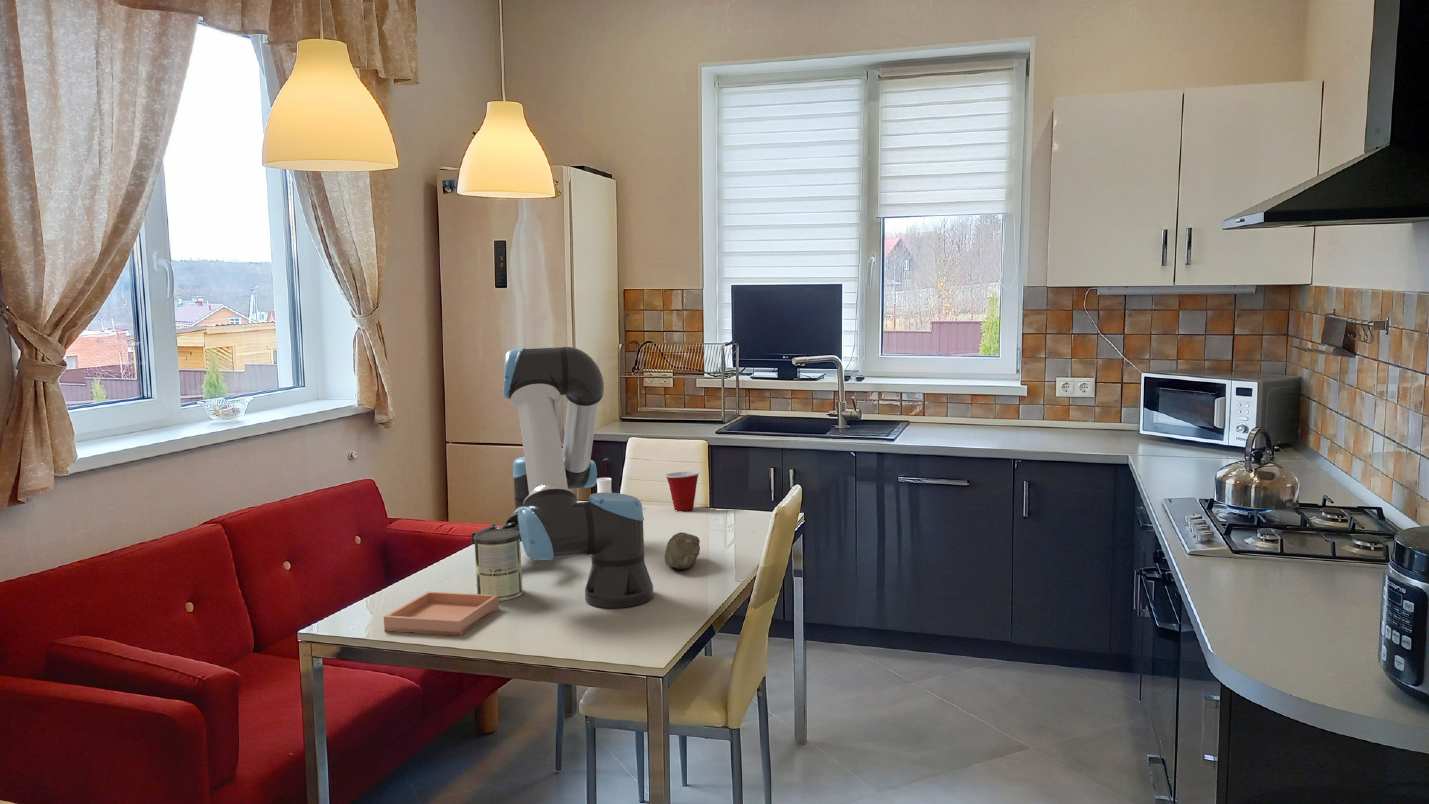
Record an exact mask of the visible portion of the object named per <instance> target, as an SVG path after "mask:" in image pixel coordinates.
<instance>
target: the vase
mask: <svg viewBox="0 0 1429 804" xmlns="http://www.w3.org/2000/svg"><path fill="white" fill-rule="evenodd" d="M596 485H597V486H596V487H597V492H596V493H613V491H612V478H611V477H597V482H596Z"/></svg>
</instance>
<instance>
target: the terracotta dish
mask: <svg viewBox="0 0 1429 804" xmlns="http://www.w3.org/2000/svg"><path fill="white" fill-rule="evenodd" d="M499 609H500V601H499V595H484V594H477V593H465V592H463V593H461V592H443V591H441V592H440V591H426V592H424V593H423V594H421V595H419V596H418V597H416V598H414V599H412V600H410V601H409V602H407V603H406V604H404V605H402V606H400V607H398V608H397V609H395V610H393V611H391V612H389V613H387V614H386V615H384V616H383V628H384V631H385V630H386V631H385V632H391V631H396V632H395V633H407V632H415V633H414V634H421V635H422V634H425V635H437V636H438V635H439V636H452V635H454V636H455V637H461V636H463V635H464V634H465V633H467V632H468V631H470V630H471V629H472V628H474V627H476V625H478V624H480V623H481V622H482V621H484V620H486V619H487V618H488V617H490V616H491V615H492V614H494V613H495V612H497V611H498V610H499ZM454 636H453V637H454Z"/></svg>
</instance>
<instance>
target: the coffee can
mask: <svg viewBox="0 0 1429 804" xmlns="http://www.w3.org/2000/svg"><path fill="white" fill-rule="evenodd" d="M474 541H475V544H474V555H475V570H476V571H475V573H476V574H475V575H476V591H477V593H476V594H484V595H499V602H502V601H503V602H505V601H507V600H513V599H515V598H518V597H520V596H522V595H523V594H524V590H523V589H524V588H523V571H522V557H521V553H522V551H521V542H520V531H518V530H515V529H492V530H486V531H482V532H479V533H477V534H475V535H474Z"/></svg>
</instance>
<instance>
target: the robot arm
mask: <svg viewBox="0 0 1429 804" xmlns="http://www.w3.org/2000/svg"><path fill="white" fill-rule="evenodd" d="M604 384H605V382H604V378H603V375H602V371H601V370H600V367H599V366H598V364H597V363H596V361H594V359H593V358H592V357H591V356H589V354H588V353H586V352H585V351H584V350H581V349H579V348H577V347H571V346H562V347H561V346H559V347H542V348H541V347H539V348H525V347H522V348H518V349H517V348H515V349H510V350H508V351H507V352H506V354H505V356H504V371H503V391H502V393H503V395H502V396H503V398H504V399H507V400H510V404H511V406H512V407H513V408H514V409H515V410H517V411H518V416H519V417H518V418H519V425H520V431H521V433H520V434H521V441H522V448H523V456H520V457H517V458H515V459H514V461H513V470H512V471H513V473H512V481H513V492H514V494H513V495H514V500H513V501H514V511H513V512H512V513H511V515H510V516H509V517H508V519H507V520H506V522H505V524H504V525H500V526H499V527H498V525H497V524H494V523H493V524H492V525H490V526H488V527H485V528H483V529H480V530H477V531H474V532H472V533H470V536H471V544H472V545H475V541H474V535H475V534H477V533H479V532H482V531H486V530H492V529H515V530H518V531H520V543H522V546H523V549H524V553H525V554H526V556H527V557H528V558H529V559H530V560H532V561H545V560H547V561H552V560H559V559H568V558H575V557H584V556H591V566H590V567H591V568H590V571H589V575H588V578H587V582H586V584H585V585H586V586H585V588H584V600H585V602H586V603H587V604H589V605H592V606H594V607H597V608H598V607H599V608H606V609H607V608H609V609H621V608H630V607H631V608H632V607H634V606H635V607H637V606H640V605H643V604H645V603H648V602H650V601H651V600H653V598H654V585H653V582H652V579H651V576H650V573H649V571H648V568H647V565H646V563H645V562H646V561H645V542H644V541H645V538H644V536H645V535H644V522H645V521H644V520H645V517H644V512H643V503H642V502H641V500H640V499H639V498H637V497H635V496H633V495H629V494H624V493H618V492H612V493H597V492H596V493H591V494H590V495H589V496H588V500H587V501H580V502H578V500H577V499H578V498H577V495H576V493H575V492H574V491H573V490H583V489H586V488H587V489H588V488H593V487H595V486H596V485H597V479H598V476H597V475H598V470H597V469H598V468H597V464H596V461H594V460H592V459H591V457H592V451H593V442H594V435H595V426H596V419H597V413H598V412H597V411H598V407H599V406H598V404H599V403H600V402H601V401H602V399H603V397H604V390H605V385H604ZM561 396H564V397H565V398H566V400H567V405H566V413H565V414H566V417H565V426H564V437H563V447H562V442H561V433H560V429H559V422H558V421H559V420H558V415H557V408H556V405H557V404H558V403H559V402H560V400H561Z"/></svg>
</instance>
